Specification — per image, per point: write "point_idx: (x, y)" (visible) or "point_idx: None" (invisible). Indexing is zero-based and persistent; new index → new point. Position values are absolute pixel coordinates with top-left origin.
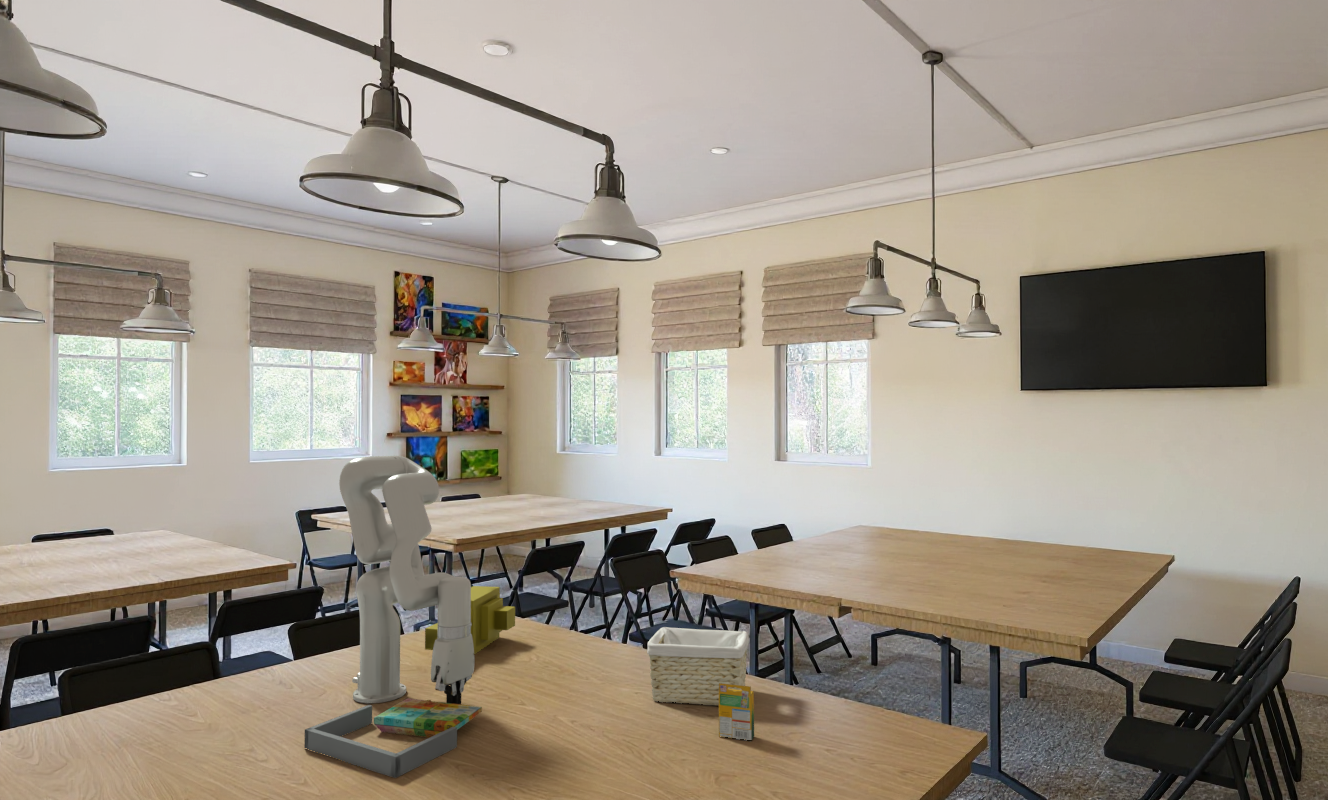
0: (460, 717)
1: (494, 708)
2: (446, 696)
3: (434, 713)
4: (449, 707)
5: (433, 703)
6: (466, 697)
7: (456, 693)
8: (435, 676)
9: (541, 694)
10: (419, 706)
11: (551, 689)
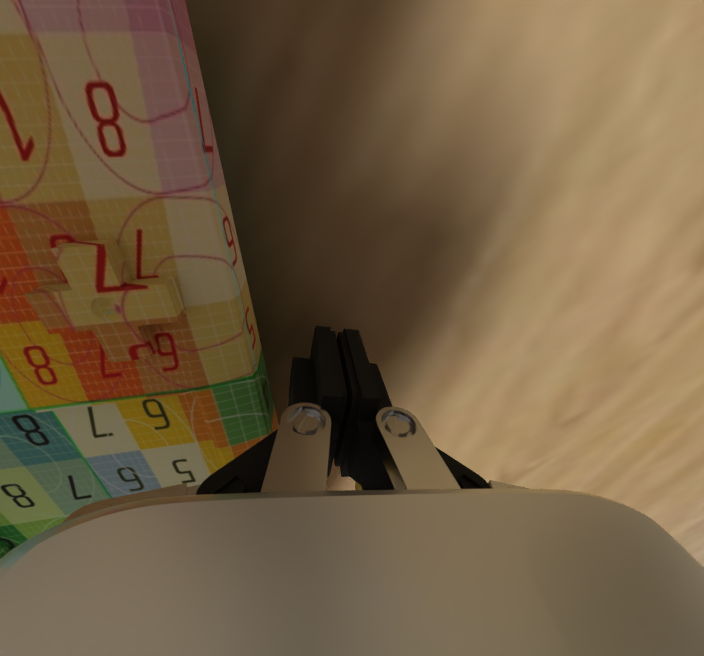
0: None
1: (449, 437)
2: (321, 376)
3: (56, 442)
4: (208, 451)
5: (170, 352)
6: (593, 249)
7: (349, 448)
8: (144, 578)
9: (594, 481)
10: (22, 286)
11: (638, 481)
